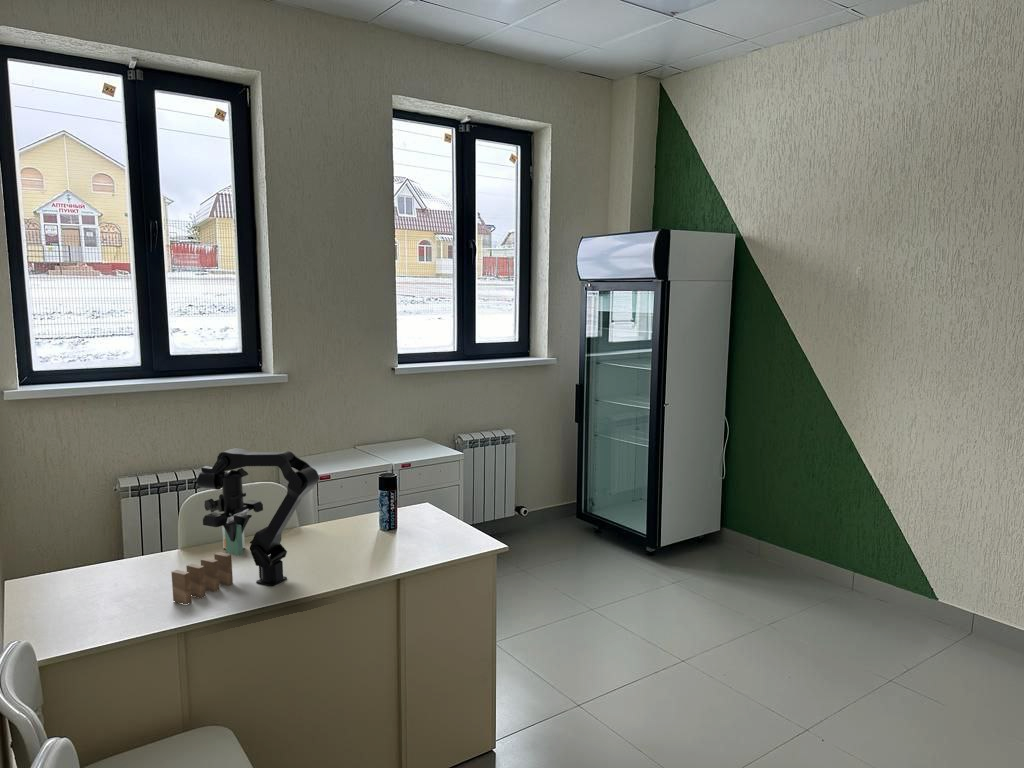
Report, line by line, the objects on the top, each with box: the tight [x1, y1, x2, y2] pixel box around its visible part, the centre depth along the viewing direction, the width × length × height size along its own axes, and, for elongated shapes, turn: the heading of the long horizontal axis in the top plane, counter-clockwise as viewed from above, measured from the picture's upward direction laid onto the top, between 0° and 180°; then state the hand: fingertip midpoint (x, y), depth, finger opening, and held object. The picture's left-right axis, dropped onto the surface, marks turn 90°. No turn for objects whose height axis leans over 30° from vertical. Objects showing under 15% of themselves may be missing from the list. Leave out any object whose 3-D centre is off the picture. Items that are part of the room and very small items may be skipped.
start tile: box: [225, 524, 244, 556], centre depth 215 cm, size 2×5×9 cm, turn 65°
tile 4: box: [186, 563, 207, 599], centre depth 202 cm, size 2×5×9 cm, turn 65°
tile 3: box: [200, 557, 221, 593], centre depth 206 cm, size 2×5×9 cm, turn 65°
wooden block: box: [213, 551, 234, 586], centre depth 211 cm, size 2×5×9 cm, turn 65°
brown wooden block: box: [171, 569, 192, 604], centre depth 197 cm, size 2×5×9 cm, turn 65°
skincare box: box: [221, 525, 246, 550], centre depth 240 cm, size 6×4×12 cm
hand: (235, 540), depth 215 cm, fingers closed on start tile, 2 cm apart
